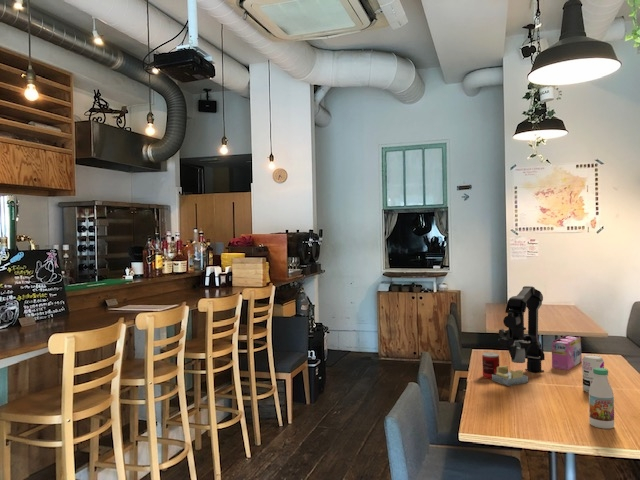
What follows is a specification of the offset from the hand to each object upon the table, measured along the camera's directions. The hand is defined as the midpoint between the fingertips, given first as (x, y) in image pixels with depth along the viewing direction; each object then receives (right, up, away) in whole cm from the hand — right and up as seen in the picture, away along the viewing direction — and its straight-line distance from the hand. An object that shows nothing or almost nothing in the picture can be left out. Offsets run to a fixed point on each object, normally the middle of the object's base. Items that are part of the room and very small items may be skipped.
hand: (518, 358), depth 231 cm
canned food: (-9, -12, +10) cm, 18 cm away
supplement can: (+26, -11, -16) cm, 32 cm away
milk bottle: (+8, -11, -54) cm, 56 cm away
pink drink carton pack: (+38, -11, +30) cm, 50 cm away
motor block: (-3, -11, +2) cm, 12 cm away
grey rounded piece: (0, -1, 0) cm, 1 cm away
